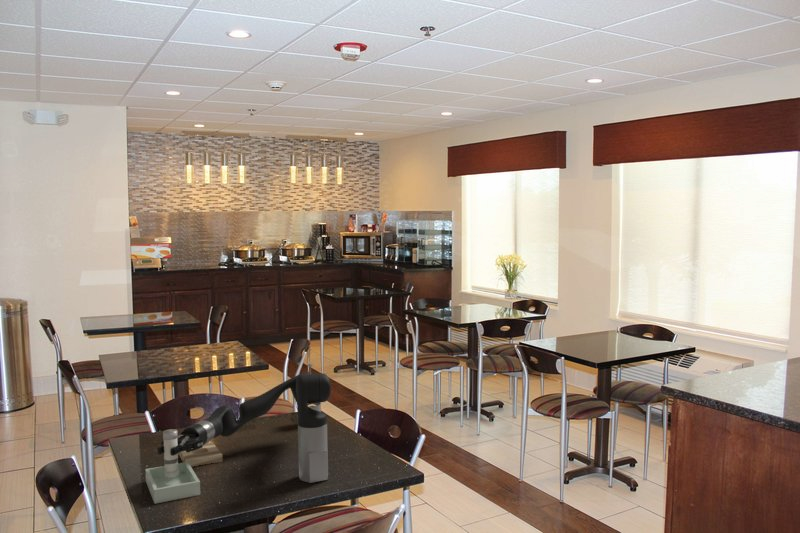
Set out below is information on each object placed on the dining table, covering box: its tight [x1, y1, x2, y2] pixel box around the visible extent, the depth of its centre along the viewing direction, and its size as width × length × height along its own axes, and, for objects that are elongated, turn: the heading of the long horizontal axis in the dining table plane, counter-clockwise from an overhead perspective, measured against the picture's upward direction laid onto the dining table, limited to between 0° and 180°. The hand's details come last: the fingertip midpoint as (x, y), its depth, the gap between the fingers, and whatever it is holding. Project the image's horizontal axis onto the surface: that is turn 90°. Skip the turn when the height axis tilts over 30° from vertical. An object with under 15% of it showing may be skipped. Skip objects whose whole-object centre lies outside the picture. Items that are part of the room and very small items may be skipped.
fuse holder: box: [178, 441, 223, 468], centre depth 228 cm, size 16×12×2 cm
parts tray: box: [145, 462, 201, 504], centre depth 201 cm, size 20×13×4 cm, turn 28°
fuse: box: [162, 428, 179, 478], centre depth 201 cm, size 4×4×14 cm
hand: (165, 451), depth 198 cm, fingers closed on fuse, 4 cm apart
